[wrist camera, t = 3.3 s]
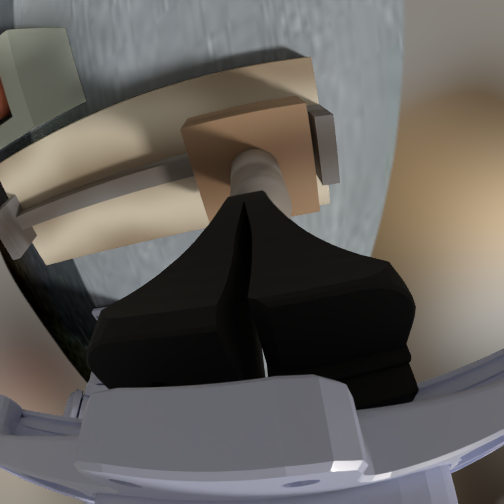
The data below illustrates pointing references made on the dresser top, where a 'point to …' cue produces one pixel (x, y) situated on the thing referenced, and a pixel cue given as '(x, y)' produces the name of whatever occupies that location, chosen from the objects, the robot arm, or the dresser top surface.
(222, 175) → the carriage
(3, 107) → the button
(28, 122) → the cabinet
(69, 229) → the rail board
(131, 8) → the dresser top surface
